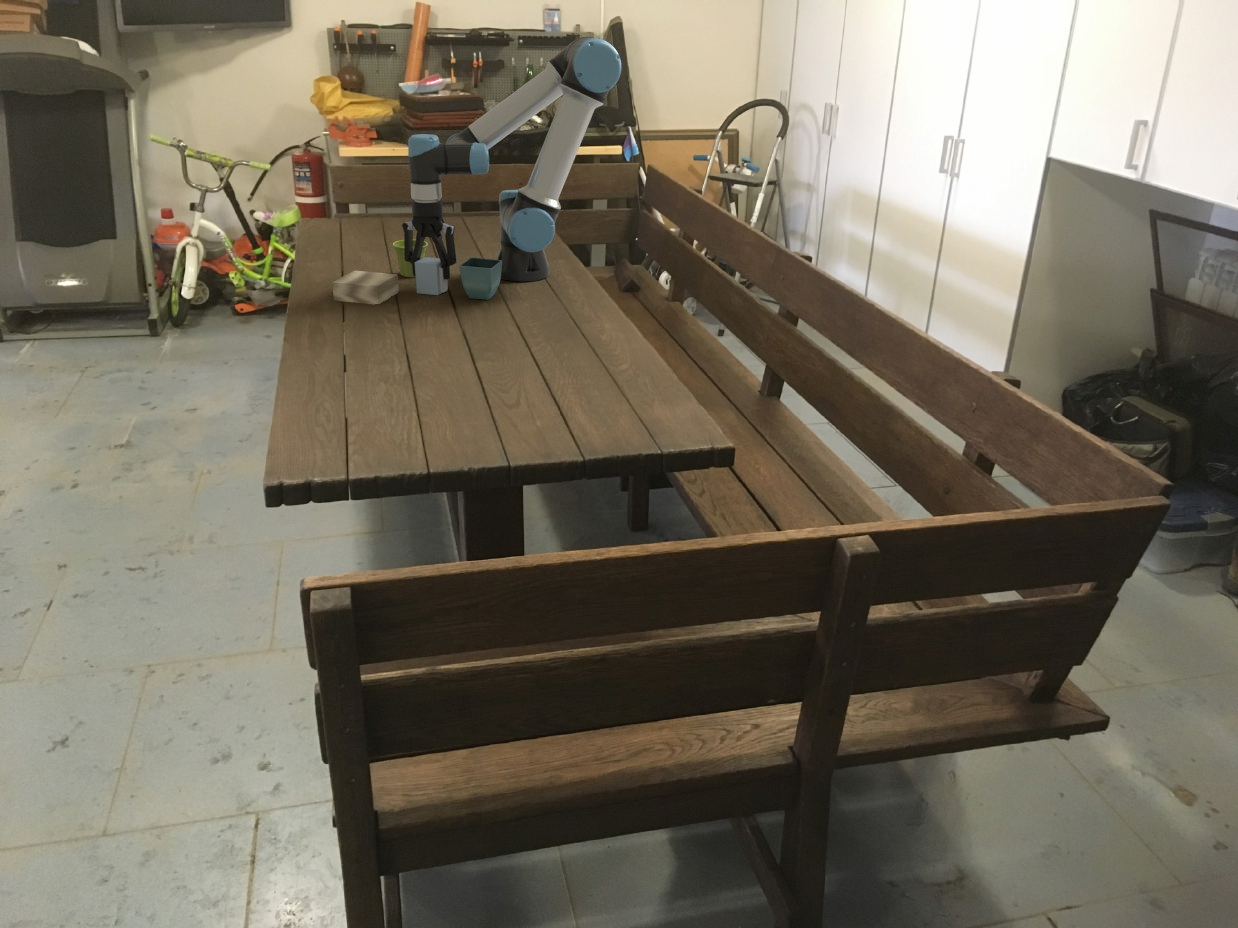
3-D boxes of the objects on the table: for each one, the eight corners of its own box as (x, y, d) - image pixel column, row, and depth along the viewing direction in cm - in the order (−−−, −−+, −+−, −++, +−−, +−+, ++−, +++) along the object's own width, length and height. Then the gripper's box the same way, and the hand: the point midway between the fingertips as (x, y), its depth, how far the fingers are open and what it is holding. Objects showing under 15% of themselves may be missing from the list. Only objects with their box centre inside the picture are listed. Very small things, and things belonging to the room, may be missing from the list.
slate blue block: (447, 289, 259) (446, 259, 256) (438, 295, 254) (436, 264, 251) (426, 287, 261) (424, 257, 257) (416, 293, 256) (414, 262, 252)
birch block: (398, 293, 257) (397, 274, 254) (378, 306, 246) (376, 286, 244) (356, 289, 259) (354, 270, 257) (334, 301, 248) (332, 282, 246)
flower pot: (493, 303, 250) (492, 268, 246) (459, 300, 251) (458, 265, 247) (503, 294, 258) (503, 259, 254) (471, 291, 259) (470, 257, 255)
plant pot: (433, 271, 275) (431, 240, 272) (424, 280, 267) (422, 248, 263) (400, 269, 276) (398, 238, 272) (390, 278, 268) (388, 246, 264)
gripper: (468, 199, 248) (471, 289, 258) (399, 194, 253) (405, 282, 263) (455, 205, 242) (460, 297, 252) (385, 199, 246) (392, 290, 256)
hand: (432, 289), depth 257 cm, fingers closed on slate blue block, 6 cm apart
